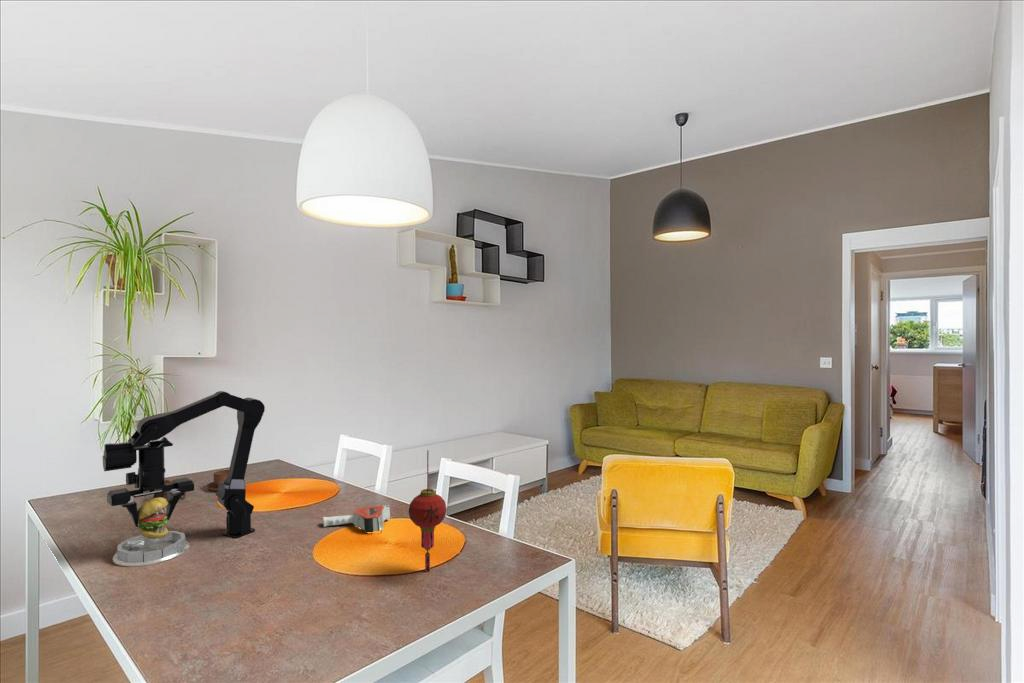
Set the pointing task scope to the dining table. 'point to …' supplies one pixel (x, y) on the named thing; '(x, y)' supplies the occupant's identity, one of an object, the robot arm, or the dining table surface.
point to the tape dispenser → (362, 518)
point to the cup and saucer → (218, 479)
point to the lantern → (427, 516)
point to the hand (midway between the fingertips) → (152, 523)
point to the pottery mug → (164, 494)
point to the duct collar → (150, 550)
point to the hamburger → (153, 518)
